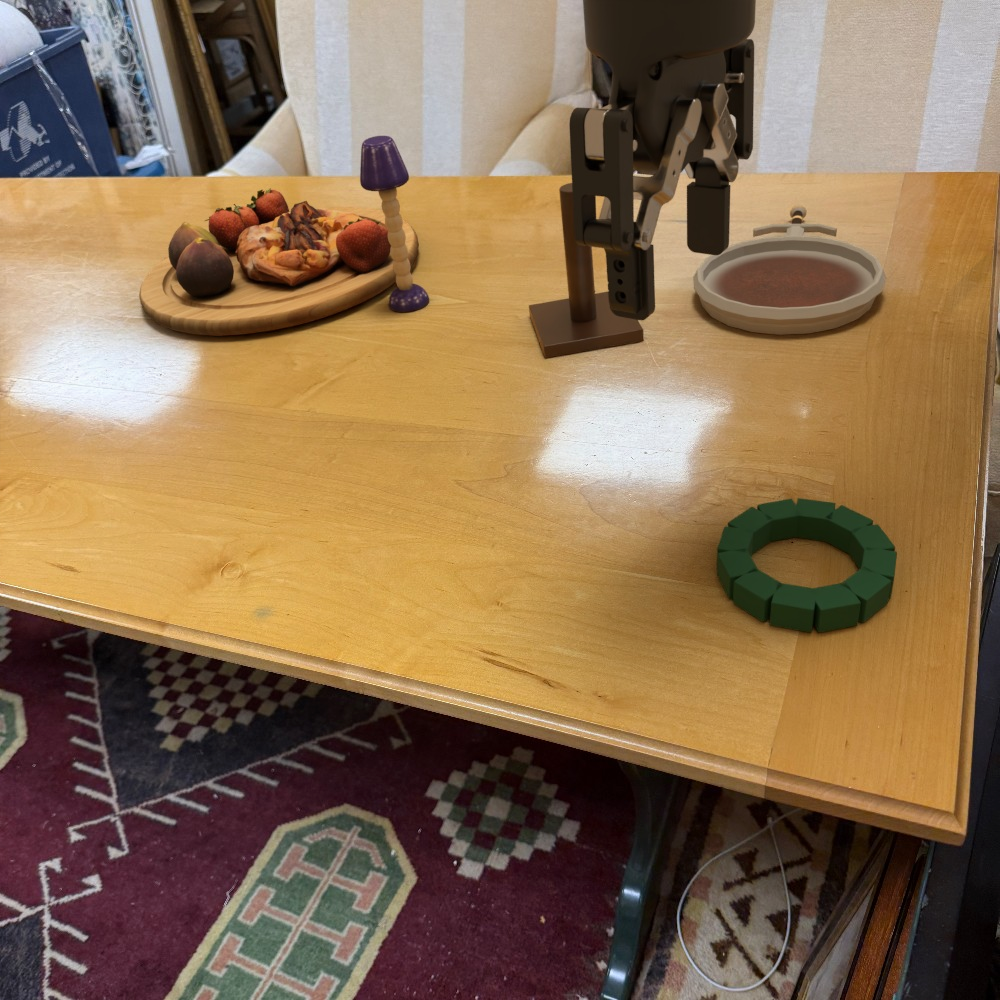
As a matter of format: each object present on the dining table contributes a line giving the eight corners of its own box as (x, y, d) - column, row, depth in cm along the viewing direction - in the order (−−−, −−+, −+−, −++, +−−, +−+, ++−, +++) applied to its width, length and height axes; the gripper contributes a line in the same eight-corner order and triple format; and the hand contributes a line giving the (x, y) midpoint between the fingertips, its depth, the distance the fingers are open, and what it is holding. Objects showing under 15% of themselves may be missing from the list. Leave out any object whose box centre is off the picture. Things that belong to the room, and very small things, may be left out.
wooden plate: (478, 248, 104) (467, 176, 99) (251, 369, 87) (225, 288, 82) (307, 210, 123) (291, 148, 118) (94, 303, 106) (64, 234, 101)
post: (620, 300, 89) (613, 163, 81) (643, 341, 81) (638, 194, 73) (529, 316, 88) (513, 180, 80) (545, 358, 81) (529, 213, 73)
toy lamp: (441, 301, 94) (411, 134, 84) (407, 319, 91) (372, 149, 81) (411, 291, 97) (379, 129, 87) (378, 308, 94) (340, 143, 84)
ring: (847, 509, 59) (850, 487, 58) (924, 613, 51) (929, 590, 50) (697, 536, 59) (698, 514, 58) (751, 645, 51) (752, 622, 50)
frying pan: (884, 195, 95) (889, 309, 74) (881, 222, 97) (885, 342, 76) (718, 198, 100) (679, 305, 79) (718, 224, 102) (679, 336, 81)
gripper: (668, -51, 32) (674, 355, 42) (816, -108, 41) (793, 240, 51) (498, -41, 36) (539, 327, 46) (666, -95, 45) (671, 225, 55)
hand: (672, 281), depth 48 cm, fingers open, 8 cm apart
